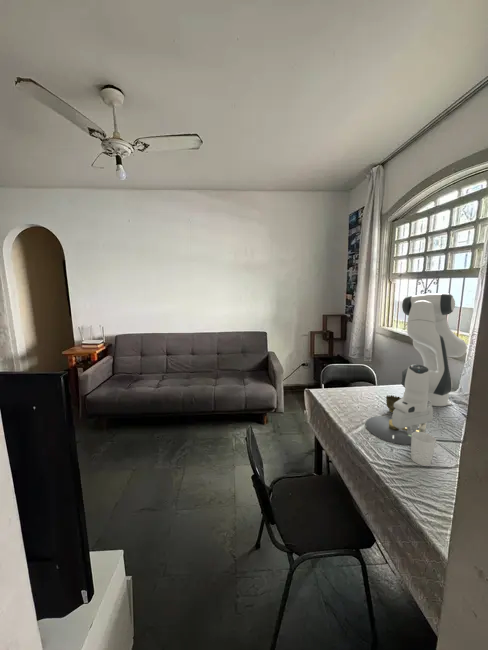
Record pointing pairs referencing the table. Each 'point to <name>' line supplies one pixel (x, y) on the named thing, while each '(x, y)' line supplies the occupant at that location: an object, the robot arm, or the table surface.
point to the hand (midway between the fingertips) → (411, 433)
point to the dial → (387, 430)
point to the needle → (421, 428)
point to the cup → (391, 402)
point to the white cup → (422, 448)
